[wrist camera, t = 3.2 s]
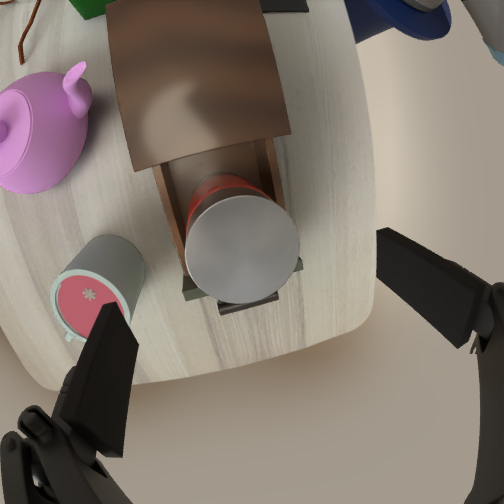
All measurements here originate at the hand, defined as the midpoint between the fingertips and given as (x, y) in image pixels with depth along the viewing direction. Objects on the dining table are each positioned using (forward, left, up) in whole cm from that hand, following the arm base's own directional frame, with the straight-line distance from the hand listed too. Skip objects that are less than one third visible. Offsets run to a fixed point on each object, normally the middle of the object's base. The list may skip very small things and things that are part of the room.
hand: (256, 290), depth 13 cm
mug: (+18, +6, -22) cm, 29 cm away
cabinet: (0, -15, -21) cm, 26 cm away
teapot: (+18, -15, -22) cm, 32 cm away
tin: (0, 0, -19) cm, 19 cm away
